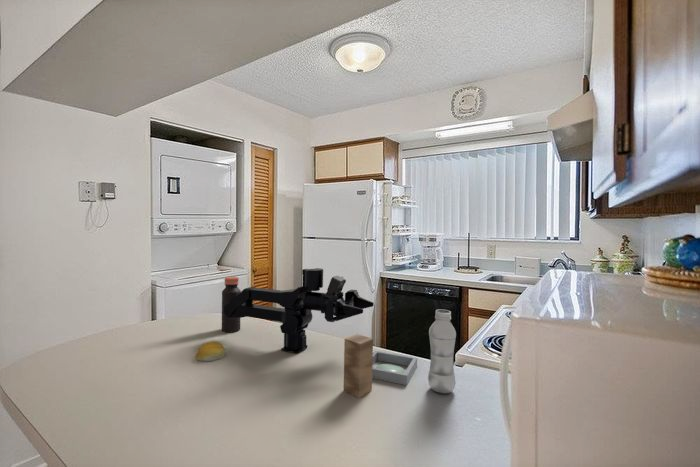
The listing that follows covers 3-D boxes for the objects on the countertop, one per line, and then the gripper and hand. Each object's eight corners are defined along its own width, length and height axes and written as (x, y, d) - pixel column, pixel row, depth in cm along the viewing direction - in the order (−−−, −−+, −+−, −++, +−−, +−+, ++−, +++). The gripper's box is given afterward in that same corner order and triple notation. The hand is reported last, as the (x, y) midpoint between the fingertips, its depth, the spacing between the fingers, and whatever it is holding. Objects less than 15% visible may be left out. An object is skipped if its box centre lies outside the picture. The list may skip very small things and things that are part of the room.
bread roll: (194, 363, 98) (194, 350, 98) (199, 352, 107) (199, 339, 107) (224, 361, 100) (224, 348, 100) (226, 350, 109) (227, 338, 109)
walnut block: (343, 390, 84) (344, 338, 83) (356, 383, 87) (357, 334, 87) (359, 397, 80) (360, 343, 80) (371, 390, 84) (373, 338, 84)
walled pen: (359, 375, 92) (360, 366, 92) (375, 358, 104) (375, 350, 104) (406, 385, 87) (407, 375, 87) (417, 366, 99) (417, 357, 99)
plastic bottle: (454, 399, 81) (456, 316, 80) (425, 393, 83) (427, 312, 82) (455, 387, 87) (458, 309, 86) (429, 382, 89) (431, 307, 88)
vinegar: (226, 327, 132) (227, 276, 132) (243, 327, 132) (243, 276, 131) (218, 332, 126) (218, 279, 125) (235, 333, 125) (236, 279, 124)
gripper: (307, 280, 98) (357, 285, 92) (335, 272, 115) (378, 276, 109) (306, 319, 98) (356, 326, 92) (334, 305, 115) (378, 310, 109)
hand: (368, 307), depth 100 cm, fingers open, 9 cm apart
